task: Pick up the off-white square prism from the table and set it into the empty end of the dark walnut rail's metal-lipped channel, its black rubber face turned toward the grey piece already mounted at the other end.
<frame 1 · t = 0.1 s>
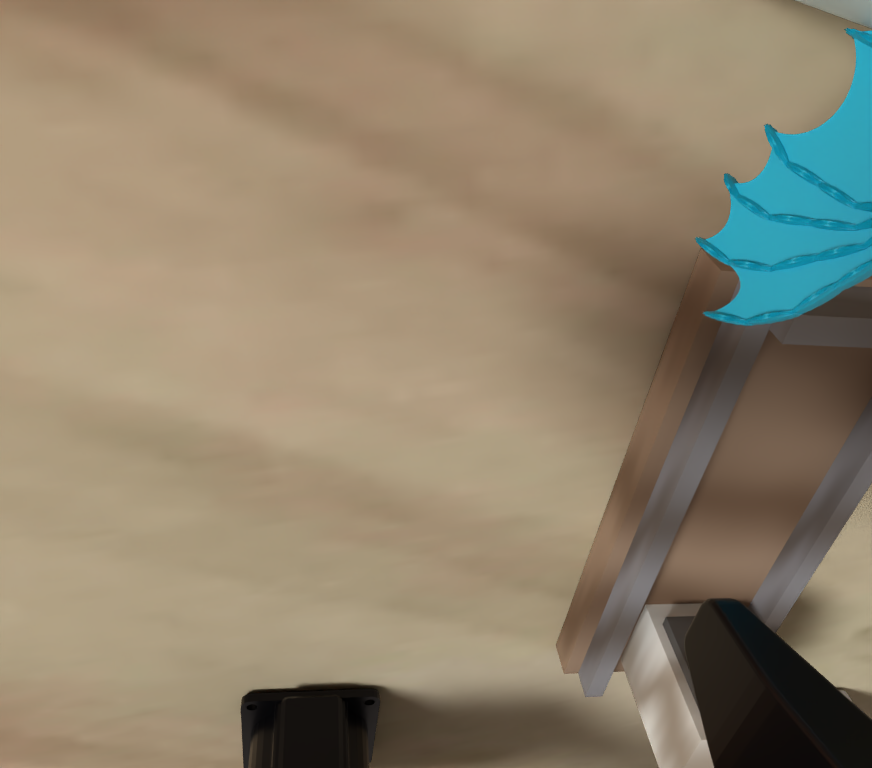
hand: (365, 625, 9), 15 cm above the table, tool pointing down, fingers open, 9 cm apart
rail: (717, 488, 31), on the table
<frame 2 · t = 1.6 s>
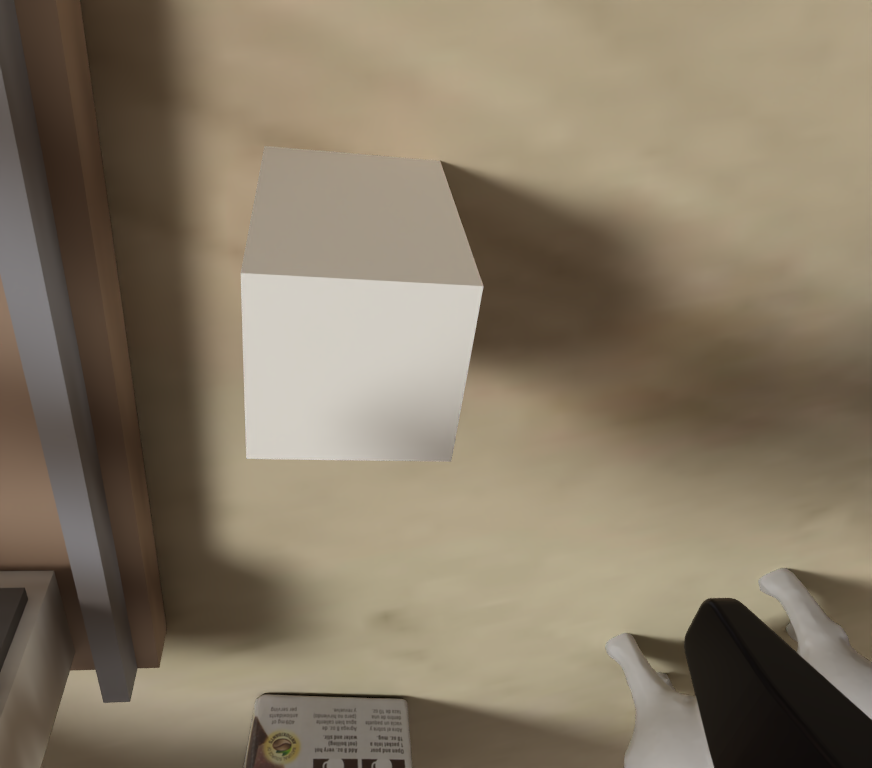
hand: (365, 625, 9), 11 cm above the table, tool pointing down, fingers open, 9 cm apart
coffee box: (316, 747, 33), on the table
off-white square prism: (349, 233, 18), on the table
dog figurine: (685, 641, 31), on the table
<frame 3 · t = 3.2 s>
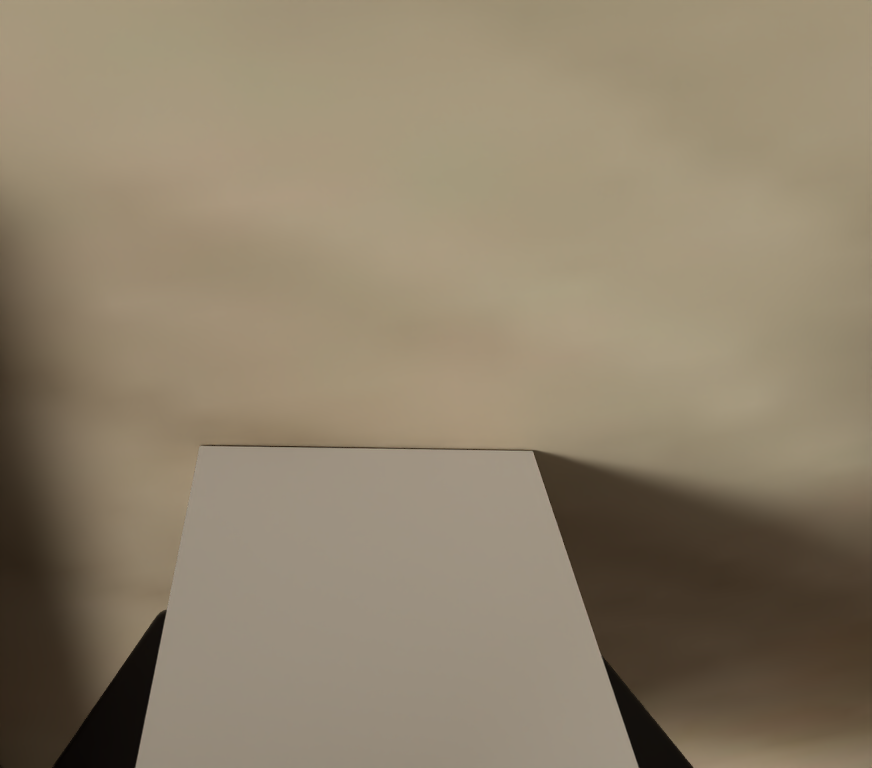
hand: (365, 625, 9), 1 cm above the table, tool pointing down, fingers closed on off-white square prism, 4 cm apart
off-white square prism: (361, 559, 10), on the table, touching gripper
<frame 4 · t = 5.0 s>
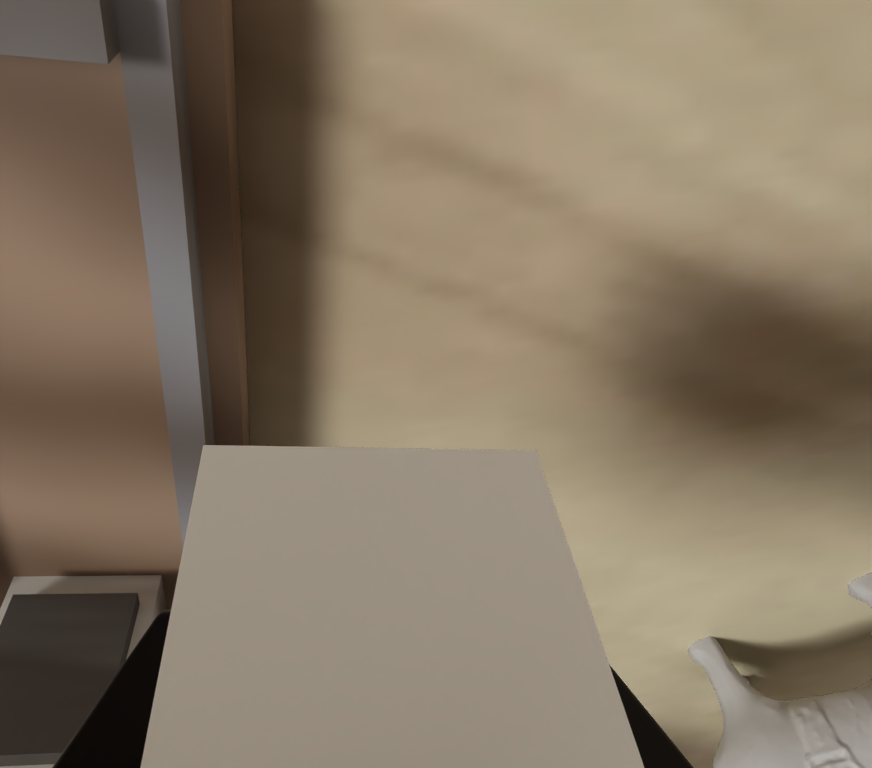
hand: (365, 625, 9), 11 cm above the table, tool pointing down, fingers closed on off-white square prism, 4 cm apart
off-white square prism: (364, 558, 10), point 9 cm above the table, touching gripper
dog figurine: (767, 644, 31), on the table
rail: (70, 392, 19), on the table
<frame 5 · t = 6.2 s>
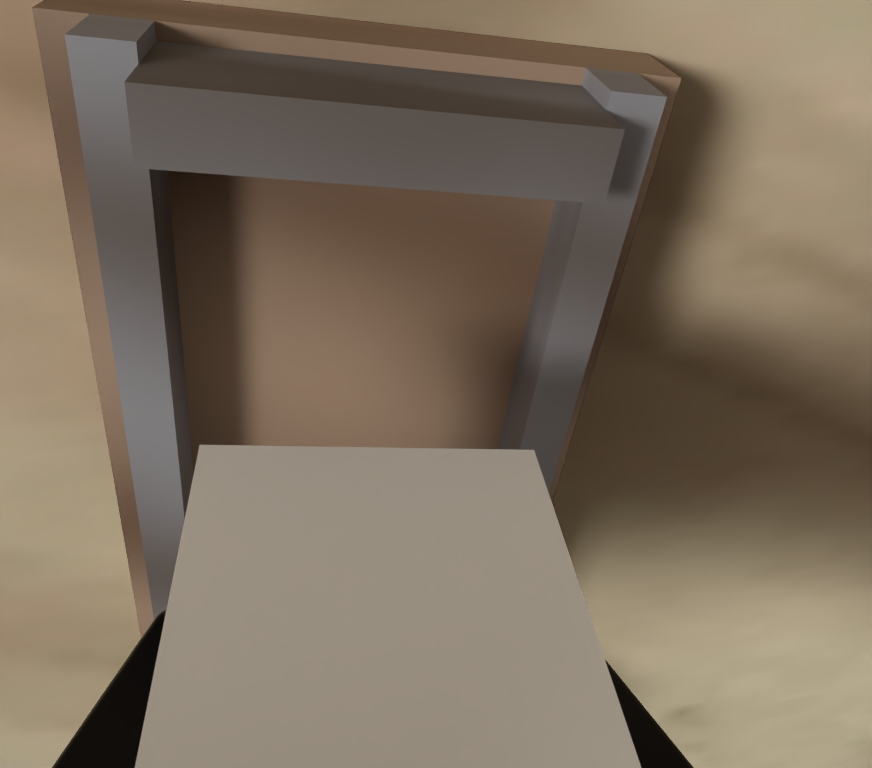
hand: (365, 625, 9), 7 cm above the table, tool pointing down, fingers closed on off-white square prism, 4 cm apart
off-white square prism: (361, 558, 10), point 6 cm above the table, touching gripper
rail: (340, 503, 18), on the table
when the fingers open (4 cm above the table, at t = 7.1 s): off-white square prism drops 1 cm, resting on rail.
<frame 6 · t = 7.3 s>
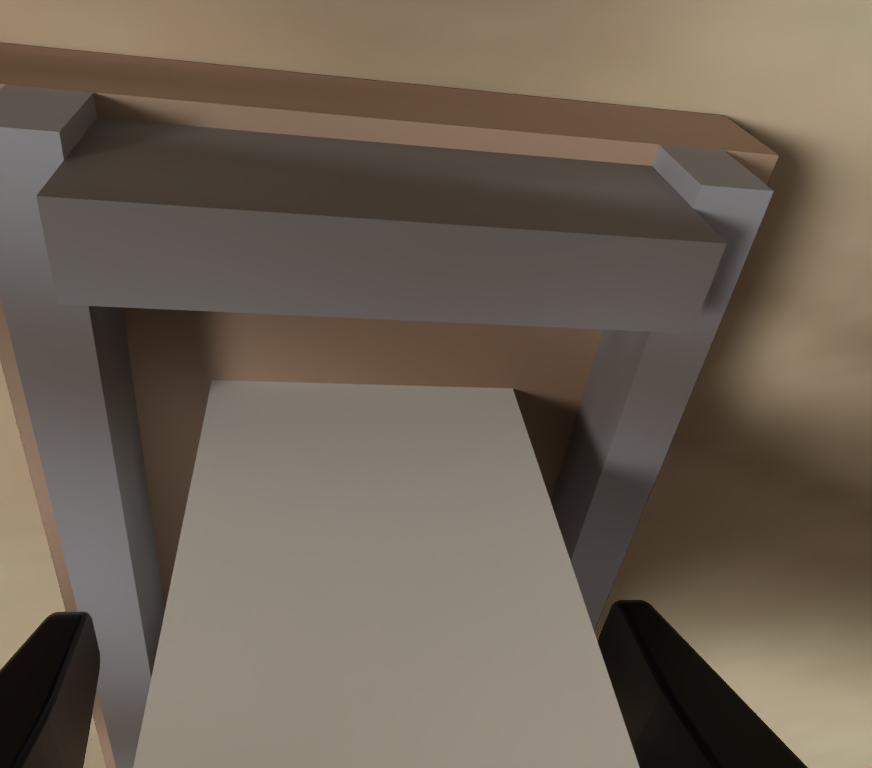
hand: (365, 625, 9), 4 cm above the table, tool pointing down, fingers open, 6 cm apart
off-white square prism: (358, 492, 11), point 1 cm above the table, touching rail
rail: (340, 616, 15), on the table
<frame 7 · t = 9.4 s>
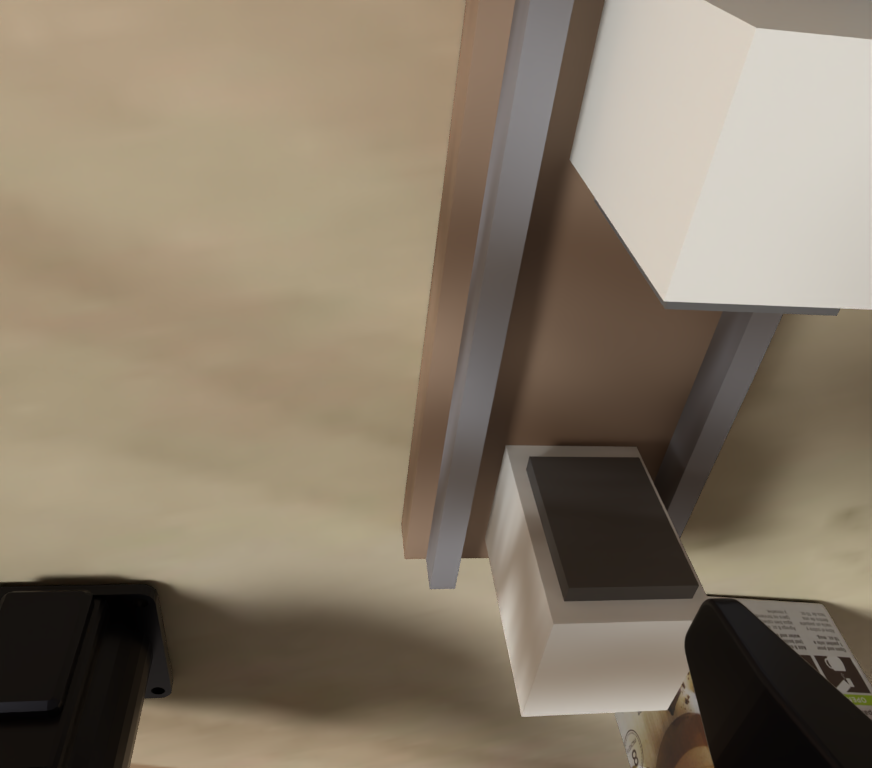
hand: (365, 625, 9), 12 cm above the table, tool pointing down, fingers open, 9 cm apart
coffee box: (708, 655, 33), on the table
off-white square prism: (682, 72, 16), point 1 cm above the table, touching rail
rail: (603, 253, 20), on the table
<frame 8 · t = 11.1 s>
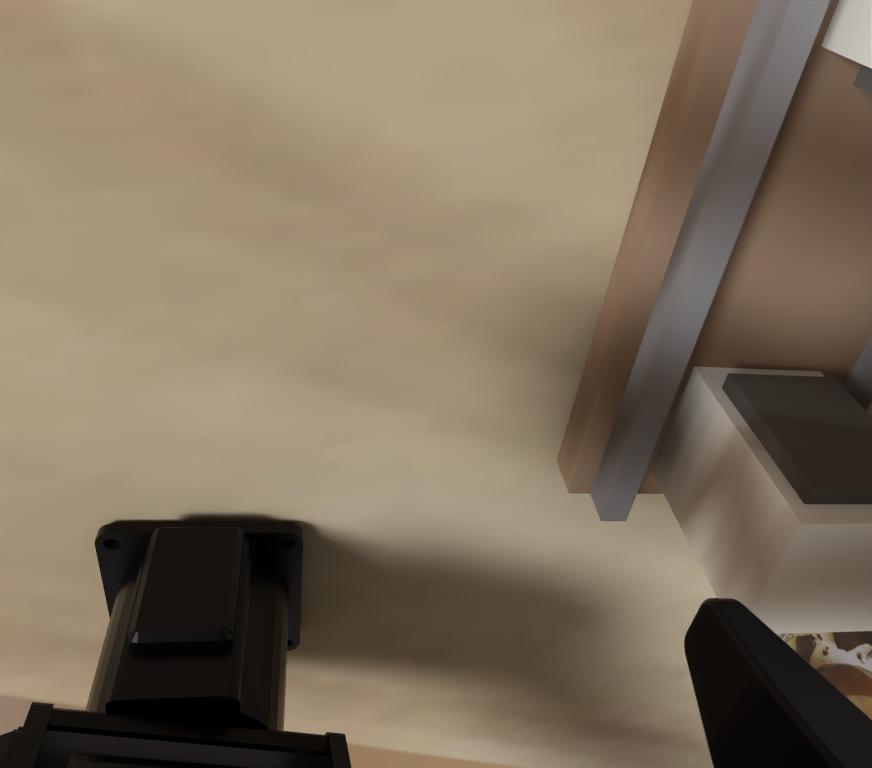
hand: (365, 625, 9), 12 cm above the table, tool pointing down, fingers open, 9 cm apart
coffee box: (827, 614, 33), on the table
rail: (810, 163, 19), on the table
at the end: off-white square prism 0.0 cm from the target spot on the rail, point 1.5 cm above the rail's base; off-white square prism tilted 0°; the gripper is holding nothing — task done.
